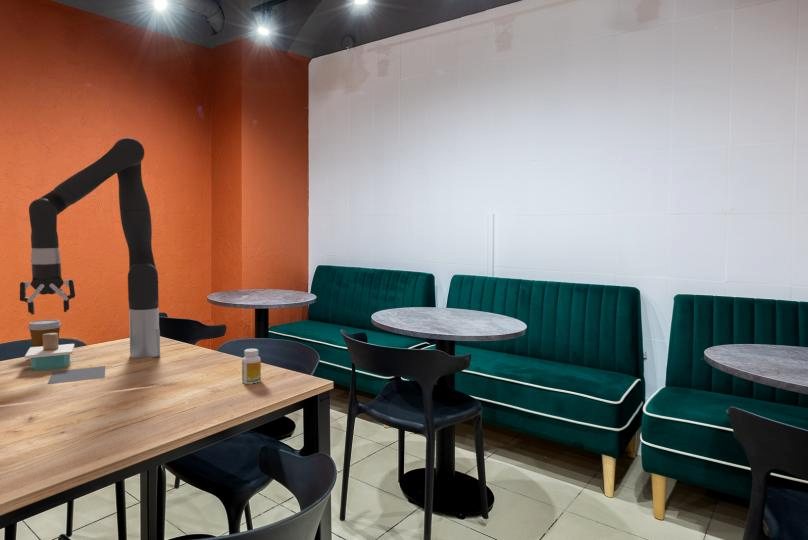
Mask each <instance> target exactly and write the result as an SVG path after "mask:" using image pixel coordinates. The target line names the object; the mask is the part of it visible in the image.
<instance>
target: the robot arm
mask: <svg viewBox="0 0 808 540" xmlns="http://www.w3.org/2000/svg"><path fill="white" fill-rule="evenodd" d="M144 158H145V148H144V146H143V144H142V143H141V142H140V141H139V140H138V139H134V138H131V137H123V138H121V139H118V140H117V141H116V142H115V143H114V144H113V146H112V147H111V148H110V149H109V150H108V151H107V152H106V153H105V154H103V155H102V156H101V157H99V158H98V159H97V160H96V161H94V162H93V163H91V164H90V165H88V166H86V167H85V168H83V169H81V170H80V171H77V172H76V173H75V174H73V175H71V176H70V177H69V178H67V179H65V180H63V181H62V182H60V183H59V184H58V185H57V186H55V187H54V189H52V190H51V191H49V192H48V193H46V194H44V195H42V196H41V197H39V198H37V199H34V200H33V201H31V203H30V204H29V205H28V215H29V216H28V217H29V221H30V231H31V234H30V243H31V244H30V246H31V252H30V263H31V276H32V277H31V278H32V280H31V281H21V282H20V283H19V301H20V302H24V303H25V302H26V303H27V311H28V313H29V314H31V315H32V316H33V315H35V313H36V312H35V302H34V300H35V299H36V298H37V296H38V295H39V294H40V295H44V296H45V295H54V294H58V296H59V297H60V298H62V299H63V313H67V312H68V311H70V300H71V299H74V298H76V289H75V284H74V283H75V281H74V280H73V279H71V278H70V279H67V280H63V278H62V263H61V261H62V260H61V259H62V258H61V253H60V248H59V247H60V245H59V235H58V230H57V229H58V227H57V226H58V216H59V214H60V213H62V212H64V211H65V210H66V209H67V208H68V207H70V206H72V205H75V204H76V203H78V202H79V201H81V200H82V199H84V198H85V197H86V196H87V195H89V194H91V192H94V190H96V189H97V188H98V187H99V186H101V185H102V184H103V183H104V182H106V181H108V180H109V179H110V178H111V177H112V176H114V175H117V181H118V203H119V204H118V205H119V215H120V222H121V226H122V232H123V235H124V238H125V242H126V245H127V249H128V257H129V258H128V261H129V262H128V264H129V266H128V269H129V270H128V273H127V295H128V296H127V299H128V317H129V320H128V322H129V325H128V326H129V353H130V354H129V357H130V358H132V359H149V358H152V359H153V358H156V357H161V330H160V312H159V311H160V310H159V309H160V307H159V302H160V301H159V300H160V299H159V272H158V270H157V266H156V263H155V262H156V261H155V257H154V255H153V247H152V237H153V236H152V235H153V234H152V233H153V232H152V231H153V229H152V225H153V224H152V215H151V209H150V208H151V207H150V204H149V200H148V196H147V193H146V189H145V187H144V183H143V178H142V176H143V175H142V161H143V160H144ZM63 285H65V286H66V287H68V288H69V295H68V294H67V293H66V292H64V290H63V289H62V287H63ZM30 286H31V288H33V289H34V292H32V294H31V295H29V297H27V289H29V287H30Z"/></svg>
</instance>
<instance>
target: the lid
mask: <svg viewBox="0 0 808 540" xmlns="http://www.w3.org/2000/svg"><path fill="white" fill-rule="evenodd" d="M74 349H75V343H67V344H59V340H58V333H46V334H43V346H41V347H33V346H30V347H29V349H28V350H27V351H26V354H25V355H24V359H31V358H35V357H46V356H56V355H67V354H70V355H72V354H73V352H74Z"/></svg>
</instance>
